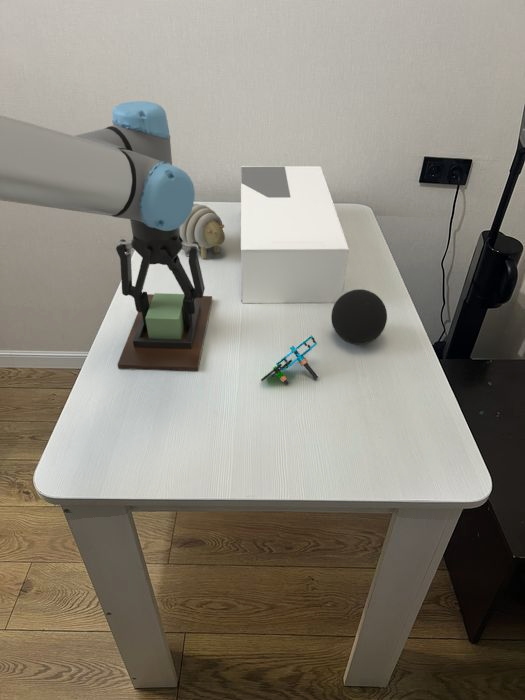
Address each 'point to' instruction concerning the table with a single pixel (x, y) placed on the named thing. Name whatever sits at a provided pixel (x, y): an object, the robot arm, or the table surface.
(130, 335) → the back board
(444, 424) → the table surface
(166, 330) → the green rectangular block
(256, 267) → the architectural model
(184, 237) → the toy sheep
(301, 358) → the stick construction toy
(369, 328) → the speaker
